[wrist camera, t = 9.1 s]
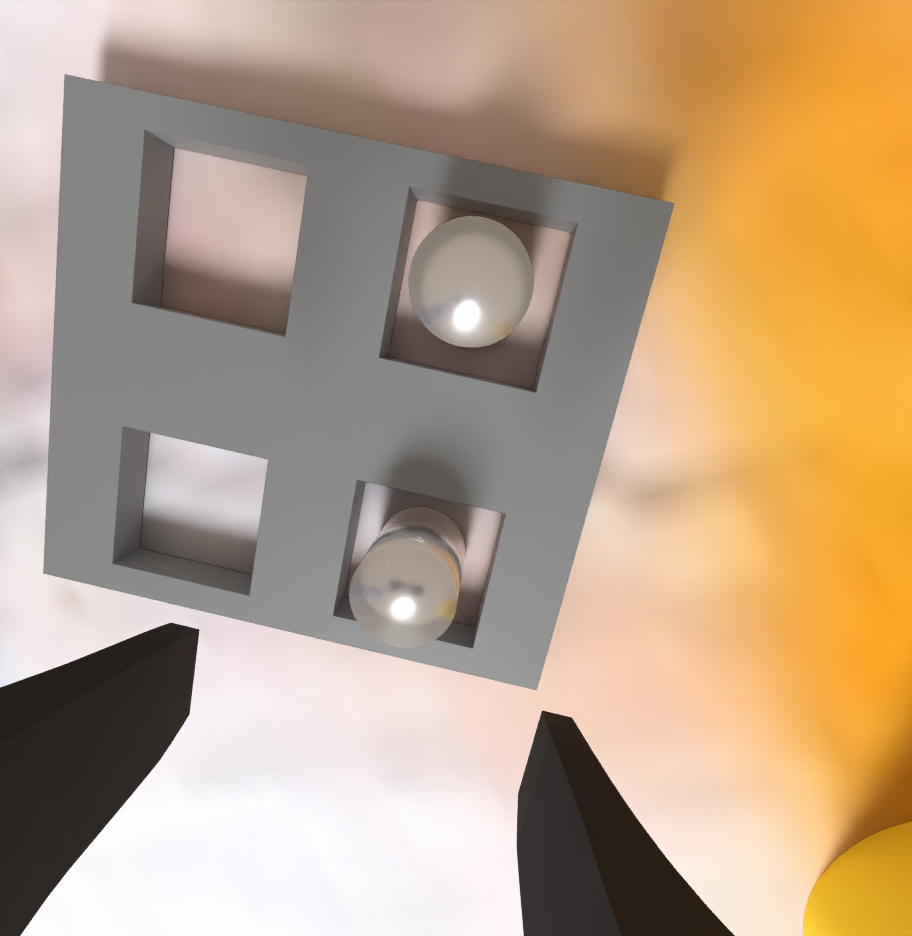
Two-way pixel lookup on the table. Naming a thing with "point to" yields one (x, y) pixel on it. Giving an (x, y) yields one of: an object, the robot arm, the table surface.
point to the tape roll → (865, 889)
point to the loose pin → (409, 579)
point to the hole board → (326, 375)
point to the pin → (471, 281)
